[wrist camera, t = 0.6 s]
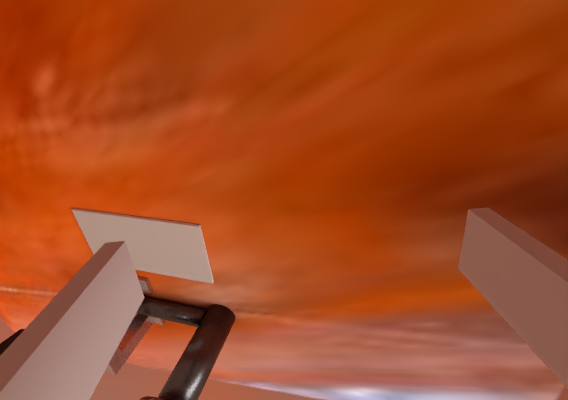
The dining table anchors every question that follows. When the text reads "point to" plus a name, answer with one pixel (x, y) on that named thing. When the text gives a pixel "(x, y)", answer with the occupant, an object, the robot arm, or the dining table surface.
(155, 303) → the hook
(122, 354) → the grey u-shaped bracket
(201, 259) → the pad
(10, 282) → the dining table surface
